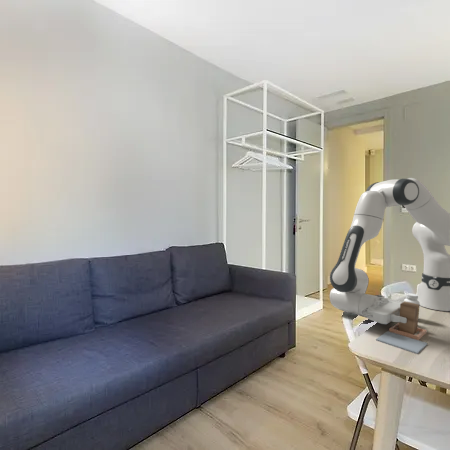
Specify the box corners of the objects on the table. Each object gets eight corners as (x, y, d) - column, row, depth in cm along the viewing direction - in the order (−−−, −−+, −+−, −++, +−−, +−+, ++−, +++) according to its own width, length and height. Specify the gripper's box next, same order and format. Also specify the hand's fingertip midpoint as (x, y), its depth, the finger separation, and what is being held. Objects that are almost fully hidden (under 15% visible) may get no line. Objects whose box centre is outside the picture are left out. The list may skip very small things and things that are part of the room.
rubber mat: (387, 332, 108) (387, 331, 108) (427, 344, 99) (427, 343, 99) (375, 340, 101) (376, 339, 101) (417, 354, 93) (417, 352, 93)
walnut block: (403, 328, 112) (404, 301, 111) (417, 332, 109) (419, 304, 108) (398, 331, 109) (400, 303, 108) (412, 335, 106) (414, 307, 105)
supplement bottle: (420, 322, 119) (422, 297, 119) (405, 320, 120) (407, 295, 120) (415, 317, 125) (416, 293, 124) (400, 315, 126) (402, 292, 125)
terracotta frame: (398, 325, 115) (398, 322, 115) (426, 333, 109) (426, 330, 108) (389, 331, 109) (389, 328, 109) (418, 340, 102) (418, 337, 102)
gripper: (359, 304, 111) (401, 315, 101) (382, 294, 125) (421, 302, 114) (358, 321, 111) (400, 334, 101) (381, 309, 125) (420, 319, 115)
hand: (411, 317), depth 108 cm, fingers open, 8 cm apart
